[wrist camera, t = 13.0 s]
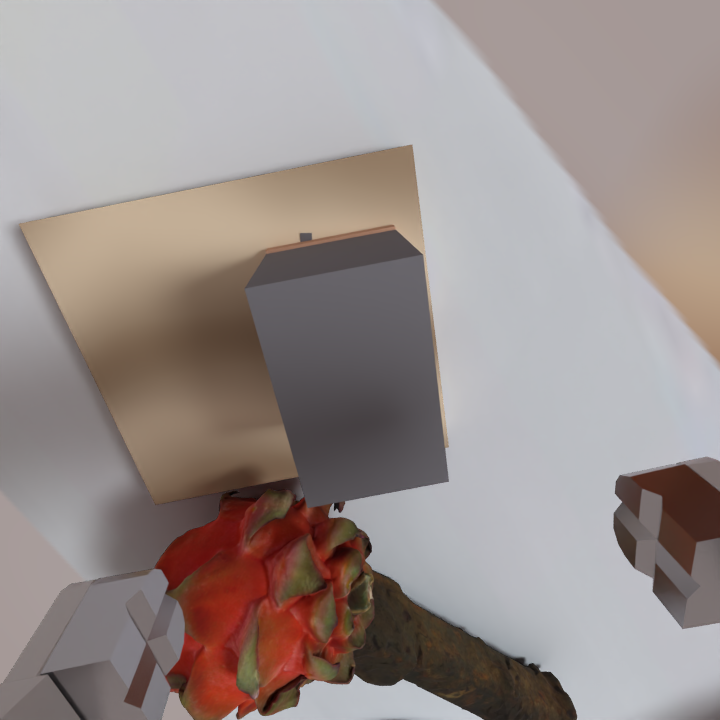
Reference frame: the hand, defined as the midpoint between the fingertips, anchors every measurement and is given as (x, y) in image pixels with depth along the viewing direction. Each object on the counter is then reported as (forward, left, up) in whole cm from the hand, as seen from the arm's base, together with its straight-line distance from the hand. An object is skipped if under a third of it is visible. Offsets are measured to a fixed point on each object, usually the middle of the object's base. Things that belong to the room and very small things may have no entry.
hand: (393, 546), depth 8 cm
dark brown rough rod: (-19, -1, -12) cm, 22 cm away
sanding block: (0, 0, -10) cm, 10 cm away
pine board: (0, +3, -11) cm, 12 cm away
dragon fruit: (-10, +6, -11) cm, 16 cm away
